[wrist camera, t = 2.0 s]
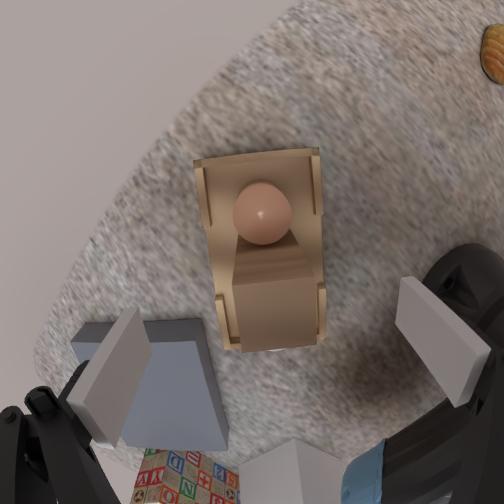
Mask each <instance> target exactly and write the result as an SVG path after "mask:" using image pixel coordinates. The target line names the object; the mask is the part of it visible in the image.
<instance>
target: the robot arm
mask: <svg viewBox="0 0 504 504" xmlns="http://www.w3.org/2000/svg"><path fill="white" fill-rule="evenodd" d="M395 324H396V326H397V327H398V328H399V330H400V331H401V332H402V334H403V335H404V336H405V338H406V339H407V340H408V342H409V343H410V344H411V346H412V347H413V348H414V350H415V351H416V353H417V354H418V355H419V357H420V358H421V359H422V361H423V362H424V364H425V365H426V366H427V368H428V369H429V371H430V372H431V374H432V375H433V376H434V378H435V379H436V381H437V382H438V384H439V385H440V387H441V388H442V389H443V391H444V392H445V394H446V395H447V398H446V399H445V400H444V401H442V402H441V403H440V404H438V405H437V406H436V407H434V408H433V409H432V410H430V411H429V412H428V413H426V414H425V415H423V416H422V417H421V418H419V419H418V420H416V421H415V422H413V423H412V424H410V425H409V426H407V427H406V428H404V429H403V430H401V431H400V432H398V433H396V434H395V435H393V436H391V437H390V438H388V439H387V438H385V439H383V440H382V441H381V442H380V444H378V445H377V446H375V447H373V448H372V449H370V450H369V451H367V452H365V453H364V454H362V455H360V456H359V457H357V458H355V459H354V460H353V461H352V462H351V463H350V464H349V465H348V467H347V469H346V471H345V473H344V475H343V479H342V484H341V504H504V260H503V259H502V258H501V257H500V256H499V255H498V254H497V253H495V252H494V251H492V250H490V249H488V248H486V247H484V246H482V245H479V244H467V245H463V246H461V247H458V248H456V249H454V250H453V251H451V252H450V253H448V254H447V255H446V256H444V257H443V258H442V259H441V260H440V261H439V262H438V263H437V264H436V265H435V266H434V267H433V269H432V270H431V271H430V272H429V274H428V275H427V277H426V278H425V280H424V281H423V283H421V282H420V281H418V280H417V279H416V278H415V277H414V276H409V277H403V278H400V288H399V298H398V306H397V314H396V321H395ZM152 352H153V351H152V348H151V345H150V342H149V339H148V336H147V333H146V330H145V327H144V324H143V321H142V318H141V314H140V311H139V308H138V307H137V308H125V309H124V310H123V312H122V313H121V315H120V316H119V318H118V319H117V321H116V322H115V324H114V325H113V326H112V328H111V329H110V331H109V332H108V334H107V335H106V337H105V338H104V340H103V341H102V343H101V344H100V346H99V347H98V349H97V351H96V352H95V354H94V355H93V357H92V358H91V360H85V361H84V362H83V363H82V364H80V365H79V366H78V367H77V369H76V370H75V372H74V373H73V376H71V378H70V380H69V382H68V383H67V384H66V386H65V387H64V389H63V391H62V392H61V394H60V395H59V397H58V399H57V398H56V396H55V395H54V393H53V391H52V390H51V388H49V387H47V386H39V387H36V388H34V389H33V390H31V391H30V392H29V393H28V394H27V395H26V397H25V401H24V403H25V405H26V406H27V408H28V409H29V410H30V412H31V413H32V414H31V415H30V414H29V415H24V414H23V412H22V411H21V410H20V408H19V407H17V406H10V407H7V408H5V409H4V410H3V411H2V412H1V413H0V504H57V501H58V504H121V503H120V501H119V499H118V498H117V496H116V494H115V492H114V491H113V489H112V487H111V486H110V483H109V482H108V479H107V478H106V476H105V474H104V472H103V470H102V468H101V466H100V464H99V461H98V459H97V457H96V455H95V453H94V451H93V449H92V448H91V446H90V445H89V444H90V442H91V439H92V438H93V440H94V441H95V442H96V444H97V445H98V446H99V447H104V448H110V449H115V447H116V445H117V442H118V439H119V436H120V434H121V431H122V428H123V426H124V423H125V420H126V418H127V415H128V412H129V410H130V407H131V404H132V402H133V399H134V397H135V394H136V392H137V389H138V387H139V384H140V382H141V379H142V377H143V374H144V372H145V369H146V367H147V364H148V362H149V359H150V357H151V355H152ZM56 498H57V499H56Z"/></svg>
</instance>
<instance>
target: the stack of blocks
mask: <svg viewBox="0 0 504 504" xmlns="http://www.w3.org/2000/svg"><path fill="white" fill-rule="evenodd" d="M130 504H241V502H240V483H239V477H238V476H236V475H235V474H233V473H231V472H230V471H228V470H226V469H224V468H223V467H221V466H219V465H218V464H216V463H214V462H213V461H211V460H210V459H208V458H206V457H205V456H203V455H202V454H201V453H199V452H198V451H177V450H162V449H150V448H146V450H145V453H144V458H143V461H142V464H141V467H140V470H139V473H138V476H137V480H136V483H135V486H134V492H133V495H132V498H131V501H130Z"/></svg>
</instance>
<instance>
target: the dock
mask: <svg viewBox="0 0 504 504" xmlns="http://www.w3.org/2000/svg"><path fill="white" fill-rule="evenodd" d="M114 324H115V323H85V324H84V326H83V327H82V328H81V329H80V330H79V332H78V333H77V334H76V335H75V336H74V338H73V339H72V340H71V341H70V343H71V346H72V348H73V350H74V352H75V354H76V357H77V359H78V361H79V363H80V364H82V363H83V362H84V361H85V360H91V358H92V357H93V355H94V354H95V352H96V351H97V349H98V347H99V346H100V344H101V343H102V341H103V340H104V338H105V337H106V335H107V334H108V332H109V331H110V329H111V328H112V326H113V325H114ZM143 324H144V327H145V330H146V333H147V336H148V339H149V342H150V345H151V348H152V351H153V352H152V355H151V357H150V359H149V362H148V364H147V367H146V369H145V372H144V374H143V377H142V379H141V382H140V384H139V387H138V389H137V392H136V394H135V397H134V399H133V402H132V404H131V407H130V410H129V412H128V415H127V418H126V420H125V423H124V426H123V428H122V431H121V434H120V436H121V437H122V439H123V440H124V442H125V443H126V445H127V446H132V447H141V448H150V449H162V450H177V451H228V438H229V426H228V423H227V419H226V416H225V412H224V409H223V405H222V401H221V397H220V394H219V390H218V386H217V382H216V378H215V374H214V370H213V366H212V362H211V358H210V354H209V350H208V346H207V341H206V337H205V333H204V328H203V324H202V319H201V318H196V319H181V320H164V321H144V322H143Z"/></svg>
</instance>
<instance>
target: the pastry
mask: <svg viewBox="0 0 504 504" xmlns="http://www.w3.org/2000/svg"><path fill="white" fill-rule="evenodd" d="M480 56H481V64H482V67H483V69H484V70H485V71H486V73H487V74H488V76H489V77H490V78H491V79H492V80H493V81H494V82H496V83H499V84H501V85H504V25H503V24H500V23H497V24H495V25H492V26H489V27H488V29H487V30H486V32H485V34H484V38H483V42H482V48H481V55H480Z"/></svg>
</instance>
